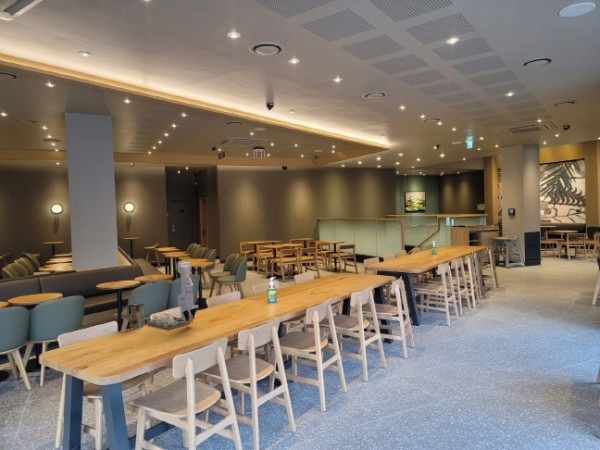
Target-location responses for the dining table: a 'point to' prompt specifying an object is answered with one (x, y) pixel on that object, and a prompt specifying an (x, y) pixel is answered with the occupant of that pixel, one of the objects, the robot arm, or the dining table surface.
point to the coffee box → (136, 315)
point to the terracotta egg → (190, 318)
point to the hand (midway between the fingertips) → (189, 319)
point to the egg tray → (167, 321)
